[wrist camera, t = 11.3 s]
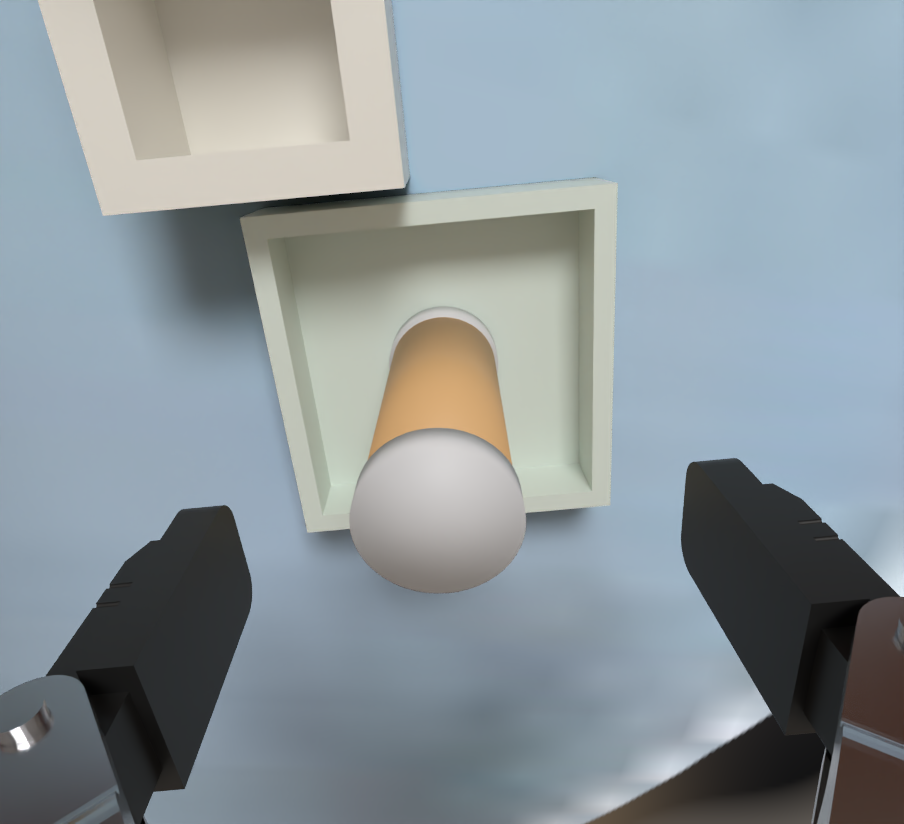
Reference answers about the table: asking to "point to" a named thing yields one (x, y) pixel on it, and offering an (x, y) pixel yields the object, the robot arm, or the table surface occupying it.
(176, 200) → the fuse block
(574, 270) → the parts tray
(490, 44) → the table surface
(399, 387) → the fuse
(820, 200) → the table surface
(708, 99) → the table surface
